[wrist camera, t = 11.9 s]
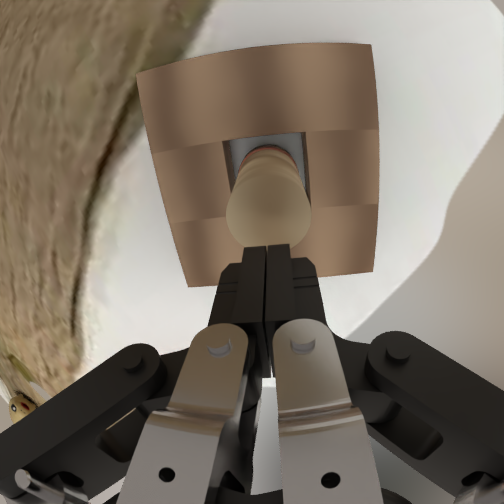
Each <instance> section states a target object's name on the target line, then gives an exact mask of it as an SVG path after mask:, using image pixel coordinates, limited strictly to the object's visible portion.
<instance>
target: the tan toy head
mask: <svg viewBox="0 0 504 504" xmlns="http://www.w3.org/2000/svg"><path fill="white" fill-rule="evenodd" d="M35 408H36V405H35V404H31V403H30V401H28V400H27V399H26V398H24V397H23V395H22V394H19V396H16V397H13V398H12V399H11V400H10V402H9V412H10V417H11V420H12V421H13V423H14V424H15V423H16V422H18V421H19V420H21V419H22V418H24V417H25V416H27V415H28V414H29V413H31V412H32V411H34V410H35Z"/></svg>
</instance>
